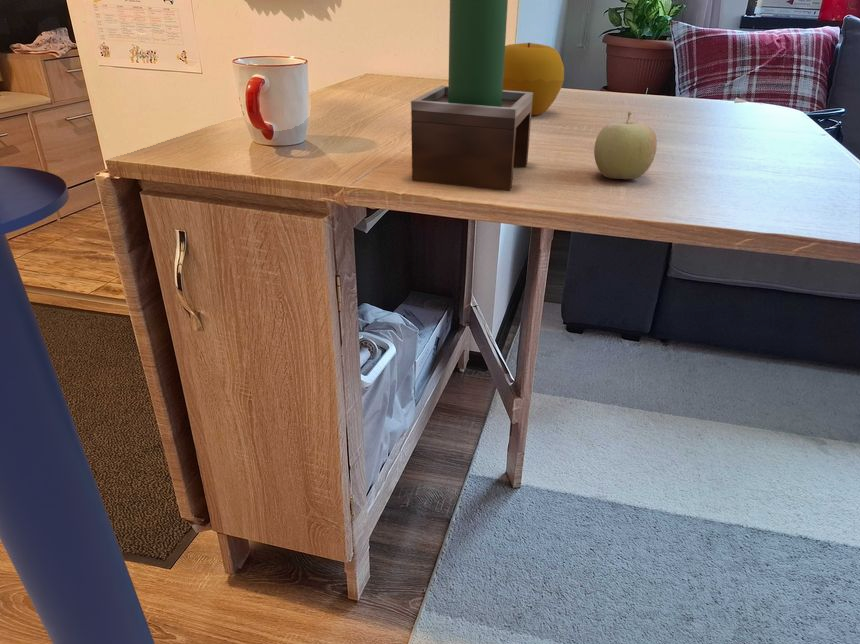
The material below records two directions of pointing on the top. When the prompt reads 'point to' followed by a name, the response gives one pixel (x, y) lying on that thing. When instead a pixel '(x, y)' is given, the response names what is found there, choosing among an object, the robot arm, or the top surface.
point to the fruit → (625, 149)
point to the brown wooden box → (469, 139)
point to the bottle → (477, 51)
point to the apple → (534, 73)
